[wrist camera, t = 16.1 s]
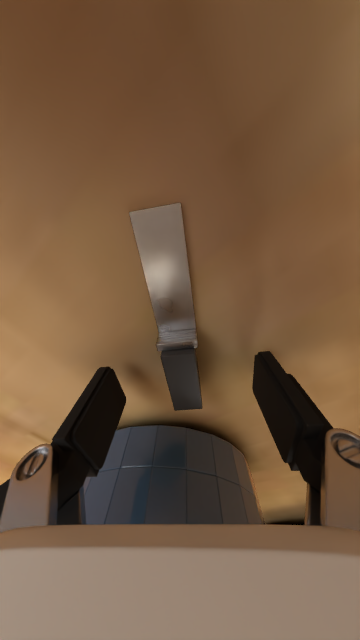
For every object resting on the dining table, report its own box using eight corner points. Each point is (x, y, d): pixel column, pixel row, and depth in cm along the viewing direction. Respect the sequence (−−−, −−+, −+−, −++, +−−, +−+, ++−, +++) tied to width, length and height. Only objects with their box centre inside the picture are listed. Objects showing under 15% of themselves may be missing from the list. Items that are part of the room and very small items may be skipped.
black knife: (202, 385, 12) (205, 408, 10) (173, 387, 12) (171, 411, 10) (180, 203, 7) (179, 193, 5) (130, 212, 7) (114, 205, 5)
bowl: (53, 424, 15) (-22, 532, 9) (250, 411, 13) (295, 532, 8) (116, 496, 22) (95, 578, 17) (243, 494, 21) (263, 583, 16)
